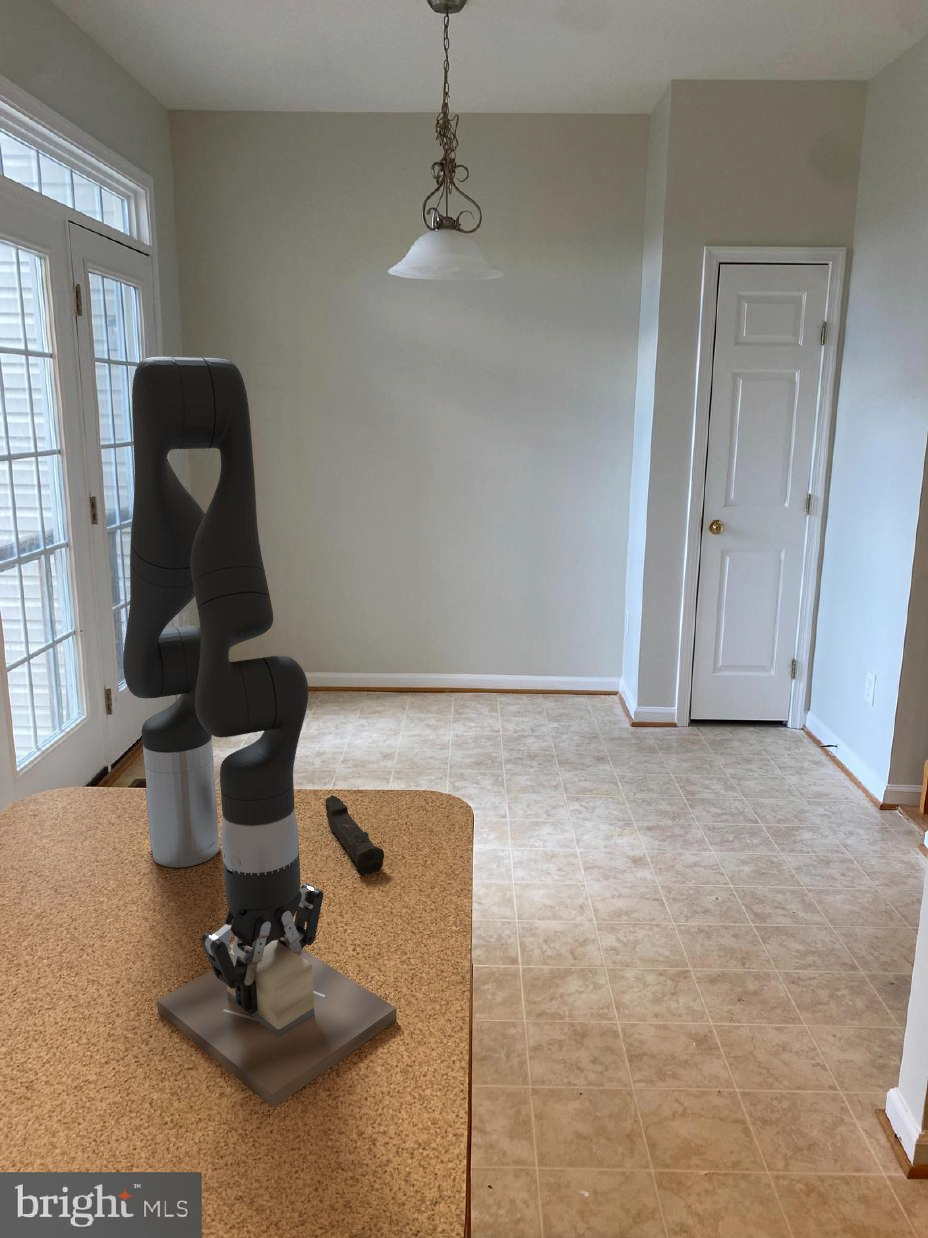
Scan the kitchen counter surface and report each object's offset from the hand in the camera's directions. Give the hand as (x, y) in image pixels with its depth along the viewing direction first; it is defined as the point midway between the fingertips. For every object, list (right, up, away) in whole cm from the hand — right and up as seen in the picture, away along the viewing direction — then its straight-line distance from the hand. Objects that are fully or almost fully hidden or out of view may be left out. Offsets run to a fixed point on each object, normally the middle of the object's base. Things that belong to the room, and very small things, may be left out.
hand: (269, 997), depth 94 cm
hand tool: (+3, +6, +37) cm, 38 cm away
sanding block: (0, -1, 0) cm, 1 cm away
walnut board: (+1, -2, +1) cm, 3 cm away
